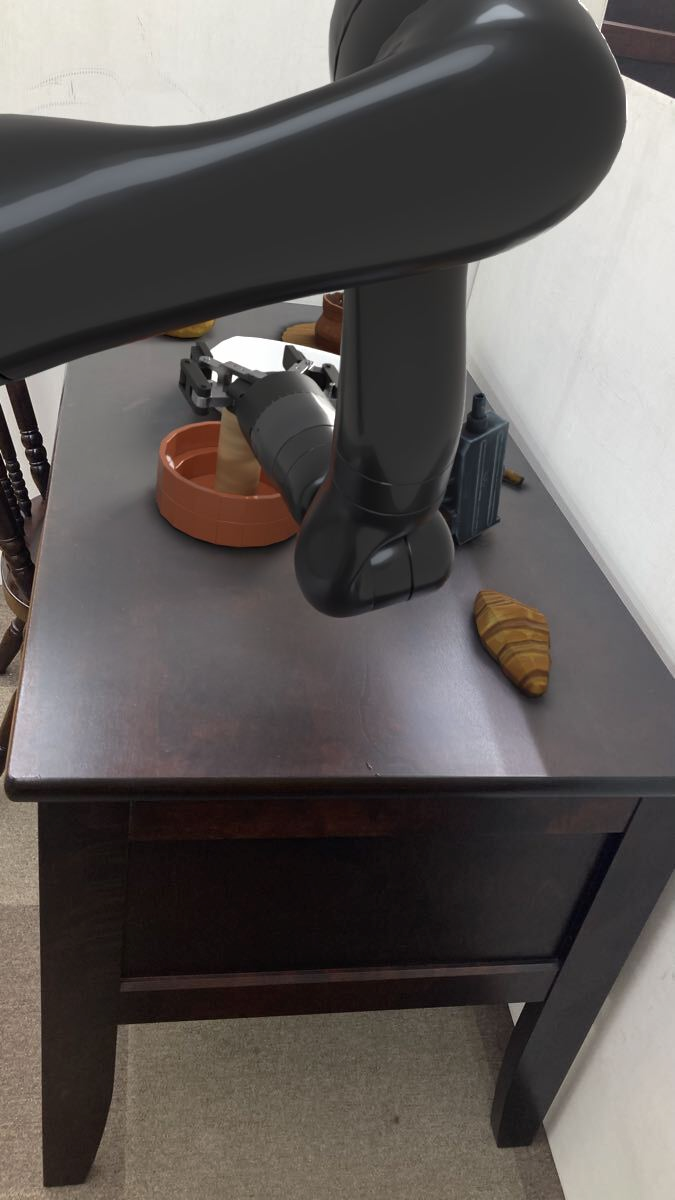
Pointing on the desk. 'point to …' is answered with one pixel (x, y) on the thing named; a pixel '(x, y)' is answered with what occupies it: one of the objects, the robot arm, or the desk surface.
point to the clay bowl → (215, 494)
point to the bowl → (264, 355)
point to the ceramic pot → (321, 327)
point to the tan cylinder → (235, 460)
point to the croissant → (515, 640)
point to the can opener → (513, 477)
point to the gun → (476, 474)
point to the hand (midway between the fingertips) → (243, 352)
